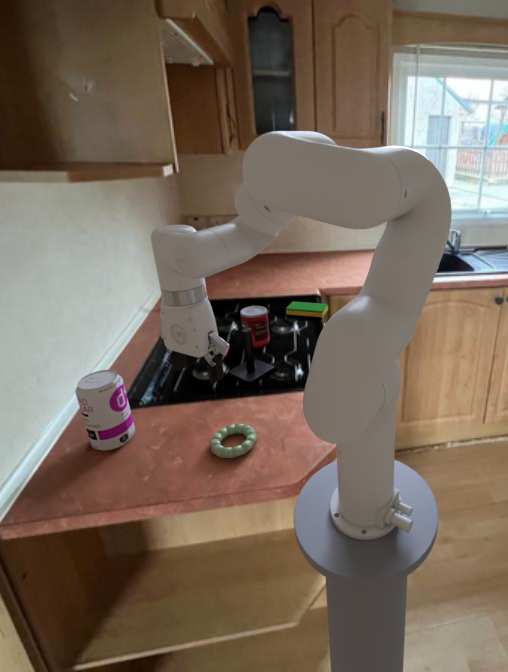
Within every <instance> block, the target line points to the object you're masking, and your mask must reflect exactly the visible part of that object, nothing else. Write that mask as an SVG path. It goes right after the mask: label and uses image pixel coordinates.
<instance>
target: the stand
mask: <svg viewBox="0 0 508 672" xmlns="http://www.w3.org/2000/svg"><path fill="white" fill-rule="evenodd" d="M241 335H242V342H243V343H242V344H243V353H244V357H245V358H244V359H245V361H244V362H242V363H240V364H238V365H237V366H235V367H233V368H231V369H230V370H228V371H226V374H227V377H230V378H232V379H234V380H235V381H239V382H241V383H243V384H245V385H247V386H250V387H252V386H253V385H254V384H256V383H258V382H259V381H261V380H263V379H264V378H265V377H267V376H268V375H271V374H272V373H273V372H276V366H274V365H272V364H269V363H268V362H264V361H262V360H259V359H257V358H256V357H255V350H254V349H255V348H253V339H252V331H251V328H244V329H242V328H241Z"/></svg>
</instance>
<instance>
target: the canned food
mask: <svg viewBox="0 0 508 672" xmlns="http://www.w3.org/2000/svg"><path fill="white" fill-rule="evenodd" d="M240 323H241V330H242V329H244V328H251V331H252V339H253V348H254V349H258V348H263V347H265V346H267V345H268V344H269V343H270V340H271V337H270V336H271V335H270V327H269V316H268V309H267V308H266V306H262V305H250V306H246V307H243V308H242V309H240Z"/></svg>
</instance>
